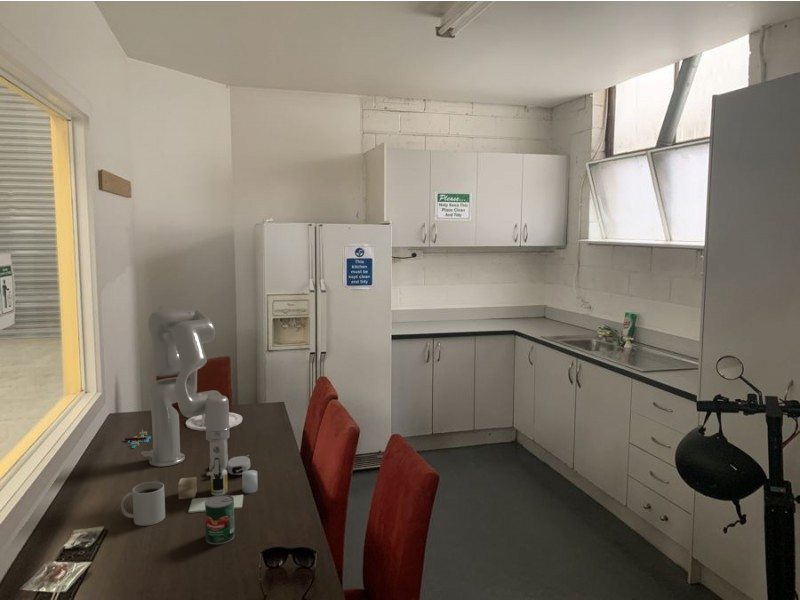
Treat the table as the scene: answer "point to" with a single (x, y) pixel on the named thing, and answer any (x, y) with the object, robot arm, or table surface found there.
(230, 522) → the canned tomato
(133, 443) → the gear mechanism
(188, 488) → the birch block
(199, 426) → the dish
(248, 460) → the robot toy
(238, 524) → the table surface
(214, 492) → the supplement bottle
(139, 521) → the mug
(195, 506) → the sage mat
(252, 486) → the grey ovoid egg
